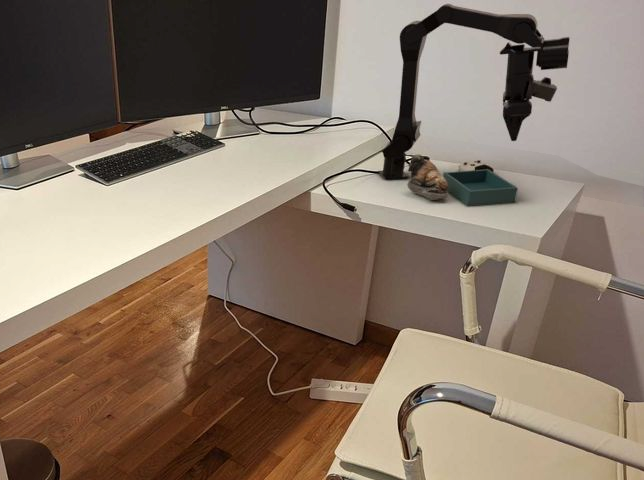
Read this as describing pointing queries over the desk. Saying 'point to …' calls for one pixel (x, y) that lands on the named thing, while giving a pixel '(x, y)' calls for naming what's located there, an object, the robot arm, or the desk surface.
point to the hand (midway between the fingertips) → (513, 136)
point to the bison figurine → (426, 179)
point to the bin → (480, 187)
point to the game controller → (475, 166)
